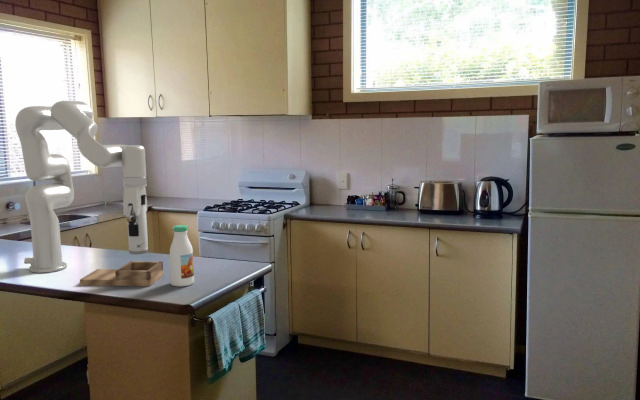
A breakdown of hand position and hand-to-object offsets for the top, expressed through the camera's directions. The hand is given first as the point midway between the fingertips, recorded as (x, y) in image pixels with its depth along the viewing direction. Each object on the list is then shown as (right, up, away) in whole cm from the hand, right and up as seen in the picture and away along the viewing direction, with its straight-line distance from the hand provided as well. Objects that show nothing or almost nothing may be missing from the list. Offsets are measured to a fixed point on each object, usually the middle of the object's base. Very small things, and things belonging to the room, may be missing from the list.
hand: (137, 233), depth 187 cm
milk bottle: (+16, -17, -2) cm, 23 cm away
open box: (-6, -16, +3) cm, 18 cm away
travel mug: (0, -7, +1) cm, 7 cm away
